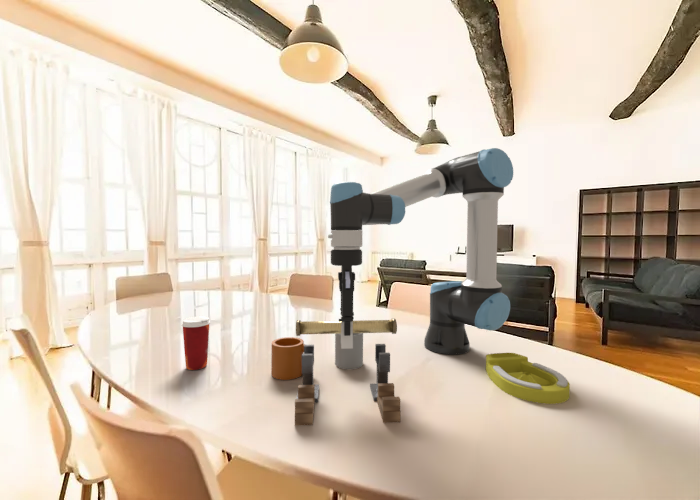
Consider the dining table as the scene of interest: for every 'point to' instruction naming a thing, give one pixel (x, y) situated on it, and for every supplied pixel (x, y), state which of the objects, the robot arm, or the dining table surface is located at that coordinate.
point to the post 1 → (308, 368)
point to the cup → (349, 353)
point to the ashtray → (526, 378)
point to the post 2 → (380, 368)
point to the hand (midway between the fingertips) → (346, 345)
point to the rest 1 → (305, 405)
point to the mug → (287, 358)
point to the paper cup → (196, 341)
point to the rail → (335, 327)
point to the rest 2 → (388, 403)
